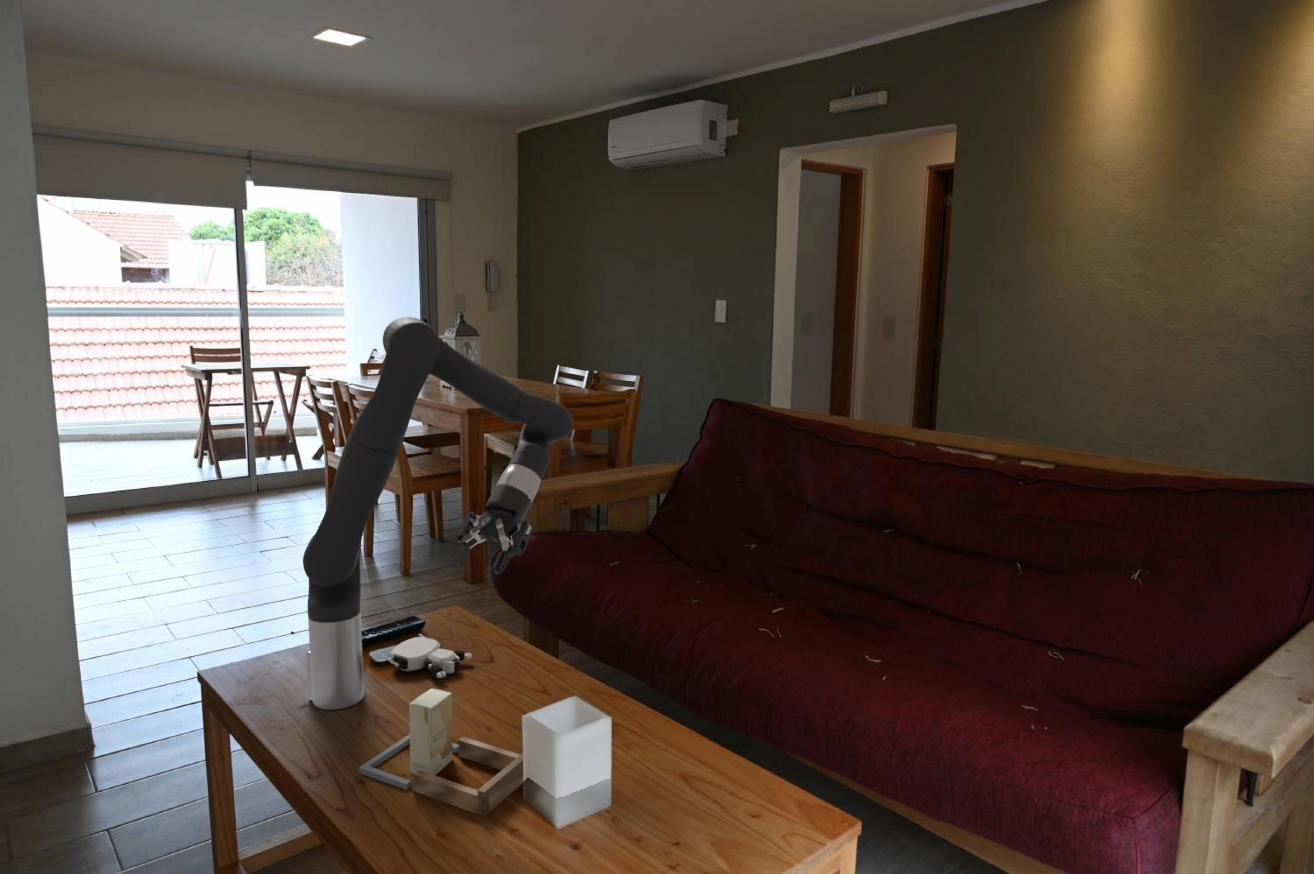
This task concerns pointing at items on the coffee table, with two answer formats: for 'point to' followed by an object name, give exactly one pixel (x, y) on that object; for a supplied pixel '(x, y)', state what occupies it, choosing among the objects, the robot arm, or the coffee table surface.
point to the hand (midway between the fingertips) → (476, 568)
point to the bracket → (381, 775)
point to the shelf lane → (488, 793)
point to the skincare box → (431, 731)
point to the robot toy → (426, 656)
